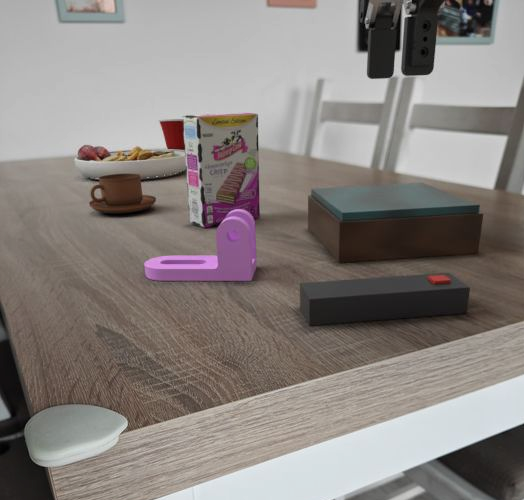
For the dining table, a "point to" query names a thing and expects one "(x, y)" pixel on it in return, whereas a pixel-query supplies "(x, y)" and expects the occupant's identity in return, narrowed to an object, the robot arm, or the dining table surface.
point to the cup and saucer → (120, 194)
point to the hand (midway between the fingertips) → (396, 77)
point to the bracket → (214, 266)
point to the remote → (383, 298)
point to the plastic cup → (173, 133)
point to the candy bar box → (221, 166)
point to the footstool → (393, 222)
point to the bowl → (130, 162)
